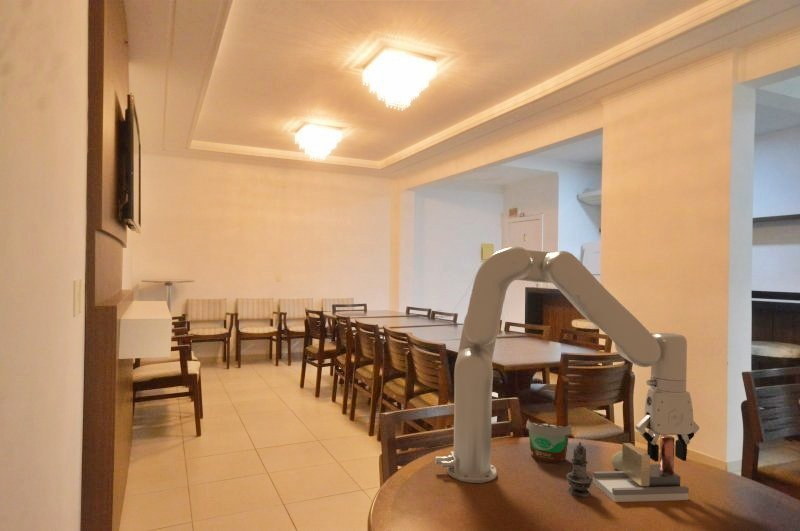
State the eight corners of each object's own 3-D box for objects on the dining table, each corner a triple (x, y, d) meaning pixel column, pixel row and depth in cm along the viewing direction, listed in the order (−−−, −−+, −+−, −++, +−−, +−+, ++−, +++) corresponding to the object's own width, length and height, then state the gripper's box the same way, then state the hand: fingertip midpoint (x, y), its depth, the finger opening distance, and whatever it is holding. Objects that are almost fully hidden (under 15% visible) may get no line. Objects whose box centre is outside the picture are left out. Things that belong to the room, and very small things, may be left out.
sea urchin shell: (660, 470, 124) (638, 448, 124) (638, 492, 124) (616, 469, 124) (643, 456, 133) (622, 435, 133) (622, 476, 133) (602, 455, 133)
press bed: (614, 501, 111) (614, 490, 111) (592, 482, 120) (593, 471, 120) (688, 499, 112) (688, 488, 112) (661, 480, 122) (661, 470, 122)
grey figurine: (591, 489, 117) (592, 439, 117) (593, 500, 111) (593, 447, 111) (566, 485, 119) (566, 436, 119) (565, 495, 113) (566, 444, 113)
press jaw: (641, 491, 112) (641, 443, 112) (622, 476, 120) (622, 432, 120) (683, 490, 113) (684, 443, 113) (661, 475, 121) (662, 431, 121)
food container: (522, 460, 133) (523, 424, 133) (525, 453, 139) (526, 418, 139) (570, 468, 129) (570, 431, 129) (571, 460, 134) (571, 424, 134)
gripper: (643, 388, 113) (642, 466, 113) (713, 388, 114) (711, 464, 114) (625, 381, 120) (624, 453, 120) (691, 381, 122) (689, 452, 122)
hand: (666, 458), depth 117 cm, fingers open, 6 cm apart
